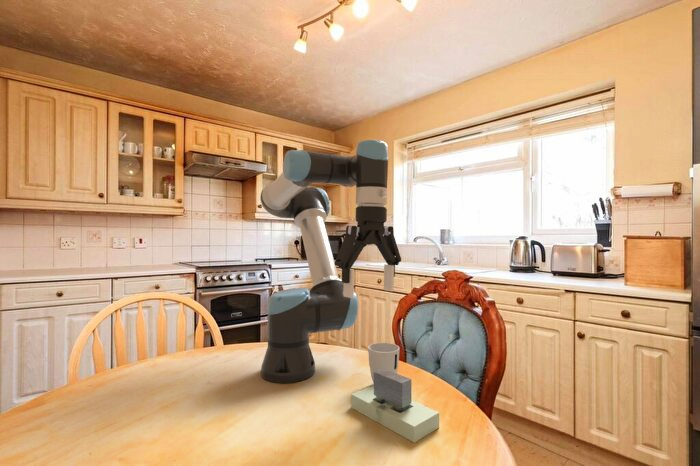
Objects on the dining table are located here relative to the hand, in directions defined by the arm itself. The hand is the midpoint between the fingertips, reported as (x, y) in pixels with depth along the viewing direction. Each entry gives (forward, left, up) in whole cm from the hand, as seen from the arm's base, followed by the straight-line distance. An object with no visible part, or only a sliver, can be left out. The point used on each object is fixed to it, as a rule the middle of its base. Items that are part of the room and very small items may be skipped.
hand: (369, 293), depth 84 cm
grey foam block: (+10, -3, -25) cm, 27 cm away
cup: (-2, +7, -25) cm, 26 cm away
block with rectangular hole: (+10, -3, -25) cm, 27 cm away
